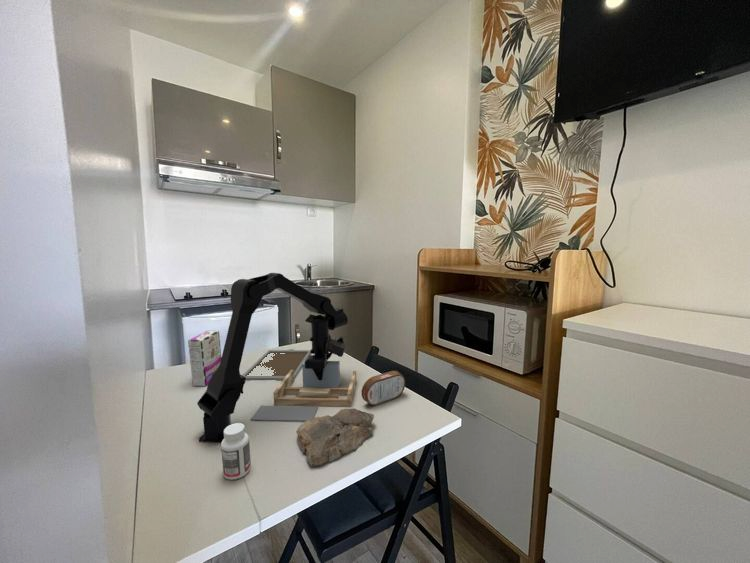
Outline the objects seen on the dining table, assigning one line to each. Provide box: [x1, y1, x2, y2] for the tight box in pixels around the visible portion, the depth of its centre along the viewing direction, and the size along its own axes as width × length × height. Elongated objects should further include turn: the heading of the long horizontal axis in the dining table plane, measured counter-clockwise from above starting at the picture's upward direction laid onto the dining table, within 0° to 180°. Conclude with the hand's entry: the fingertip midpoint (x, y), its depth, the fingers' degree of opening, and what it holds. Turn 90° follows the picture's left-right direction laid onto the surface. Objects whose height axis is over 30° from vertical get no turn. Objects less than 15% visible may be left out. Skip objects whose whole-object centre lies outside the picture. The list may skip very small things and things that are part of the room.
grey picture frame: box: [241, 348, 311, 382], centre depth 121 cm, size 19×2×30 cm
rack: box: [272, 370, 357, 408], centre depth 97 cm, size 16×23×4 cm
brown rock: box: [296, 408, 375, 467], centre depth 75 cm, size 14×5×20 cm
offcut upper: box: [299, 387, 330, 398], centre depth 92 cm, size 3×9×2 cm, turn 83°
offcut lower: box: [293, 393, 340, 398], centre depth 92 cm, size 3×13×2 cm, turn 85°
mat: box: [250, 405, 319, 423], centre depth 85 cm, size 7×17×1 cm, turn 87°
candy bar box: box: [187, 330, 222, 387], centre depth 106 cm, size 11×5×16 cm, turn 179°
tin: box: [361, 370, 406, 406], centre depth 92 cm, size 15×3×8 cm, turn 123°
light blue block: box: [301, 360, 341, 388], centre depth 102 cm, size 3×12×8 cm, turn 87°
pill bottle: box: [220, 422, 252, 481], centre depth 64 cm, size 5×5×10 cm
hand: (321, 377), depth 102 cm, fingers closed on light blue block, 3 cm apart
